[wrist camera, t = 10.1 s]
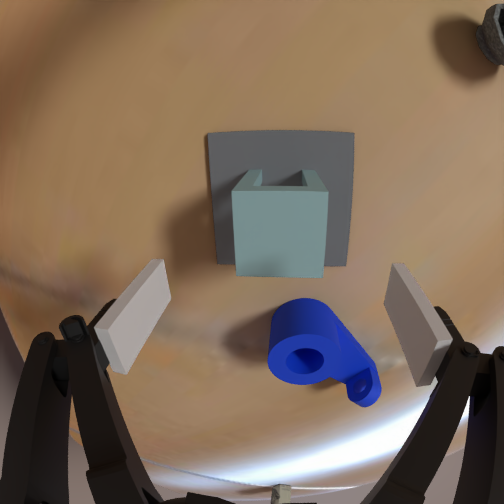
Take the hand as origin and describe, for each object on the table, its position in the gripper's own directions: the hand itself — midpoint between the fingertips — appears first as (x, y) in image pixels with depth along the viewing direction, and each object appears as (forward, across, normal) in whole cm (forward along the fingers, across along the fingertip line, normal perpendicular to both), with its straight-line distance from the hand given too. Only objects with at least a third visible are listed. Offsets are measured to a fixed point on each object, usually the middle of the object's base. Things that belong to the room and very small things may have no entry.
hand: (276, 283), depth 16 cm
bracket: (+19, +7, -22) cm, 30 cm away
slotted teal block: (+18, 0, 0) cm, 18 cm away
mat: (+18, 0, 0) cm, 19 cm away
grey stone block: (+18, +3, -89) cm, 91 cm away
